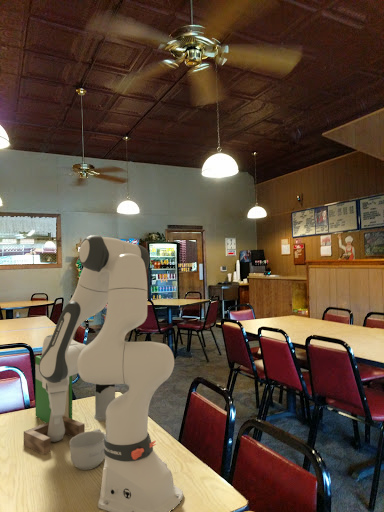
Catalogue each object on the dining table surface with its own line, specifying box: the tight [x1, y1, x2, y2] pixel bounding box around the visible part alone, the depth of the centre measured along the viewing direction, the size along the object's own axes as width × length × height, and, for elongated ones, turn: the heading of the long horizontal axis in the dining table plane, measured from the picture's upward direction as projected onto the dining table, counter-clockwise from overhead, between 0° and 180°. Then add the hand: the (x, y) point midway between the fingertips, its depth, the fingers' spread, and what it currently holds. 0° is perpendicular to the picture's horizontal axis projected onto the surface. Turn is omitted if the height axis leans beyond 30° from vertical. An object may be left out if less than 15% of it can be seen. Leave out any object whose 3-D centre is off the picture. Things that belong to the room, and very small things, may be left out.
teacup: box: [68, 428, 106, 471], centre depth 114 cm, size 14×11×8 cm
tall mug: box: [92, 383, 116, 422], centre depth 152 cm, size 9×14×15 cm, turn 42°
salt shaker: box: [47, 403, 66, 443], centre depth 129 cm, size 6×6×13 cm
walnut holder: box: [23, 416, 86, 456], centre depth 129 cm, size 12×16×4 cm
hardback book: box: [35, 354, 73, 424], centre depth 148 cm, size 18×7×24 cm, turn 43°
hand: (56, 420), depth 129 cm, fingers closed on salt shaker, 4 cm apart
